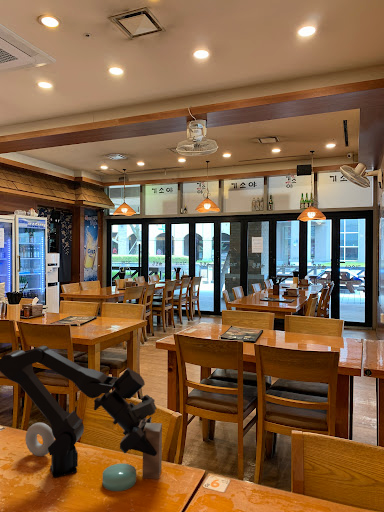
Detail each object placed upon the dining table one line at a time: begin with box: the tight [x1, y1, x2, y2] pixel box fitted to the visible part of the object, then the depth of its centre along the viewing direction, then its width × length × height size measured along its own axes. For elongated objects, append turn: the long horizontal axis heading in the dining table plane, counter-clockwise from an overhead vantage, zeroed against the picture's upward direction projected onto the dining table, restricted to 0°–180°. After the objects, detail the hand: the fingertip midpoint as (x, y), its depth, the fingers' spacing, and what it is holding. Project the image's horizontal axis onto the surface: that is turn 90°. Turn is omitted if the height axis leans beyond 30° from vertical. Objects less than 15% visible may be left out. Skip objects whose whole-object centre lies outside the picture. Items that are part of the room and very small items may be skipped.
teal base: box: [102, 463, 137, 492], centre depth 106 cm, size 9×9×2 cm
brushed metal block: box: [142, 422, 163, 480], centre depth 110 cm, size 5×5×13 cm
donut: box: [24, 422, 55, 457], centre depth 119 cm, size 10×4×10 cm, turn 71°
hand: (157, 449), depth 110 cm, fingers closed on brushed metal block, 5 cm apart
